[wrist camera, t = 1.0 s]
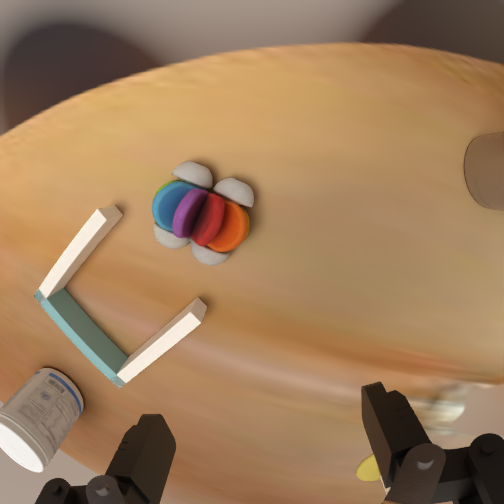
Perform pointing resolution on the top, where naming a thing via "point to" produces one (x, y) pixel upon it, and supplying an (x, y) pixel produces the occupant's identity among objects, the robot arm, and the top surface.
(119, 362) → the bay
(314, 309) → the top surface
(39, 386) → the supplement tub
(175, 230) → the multicoloured petal flower toy
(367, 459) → the candle
